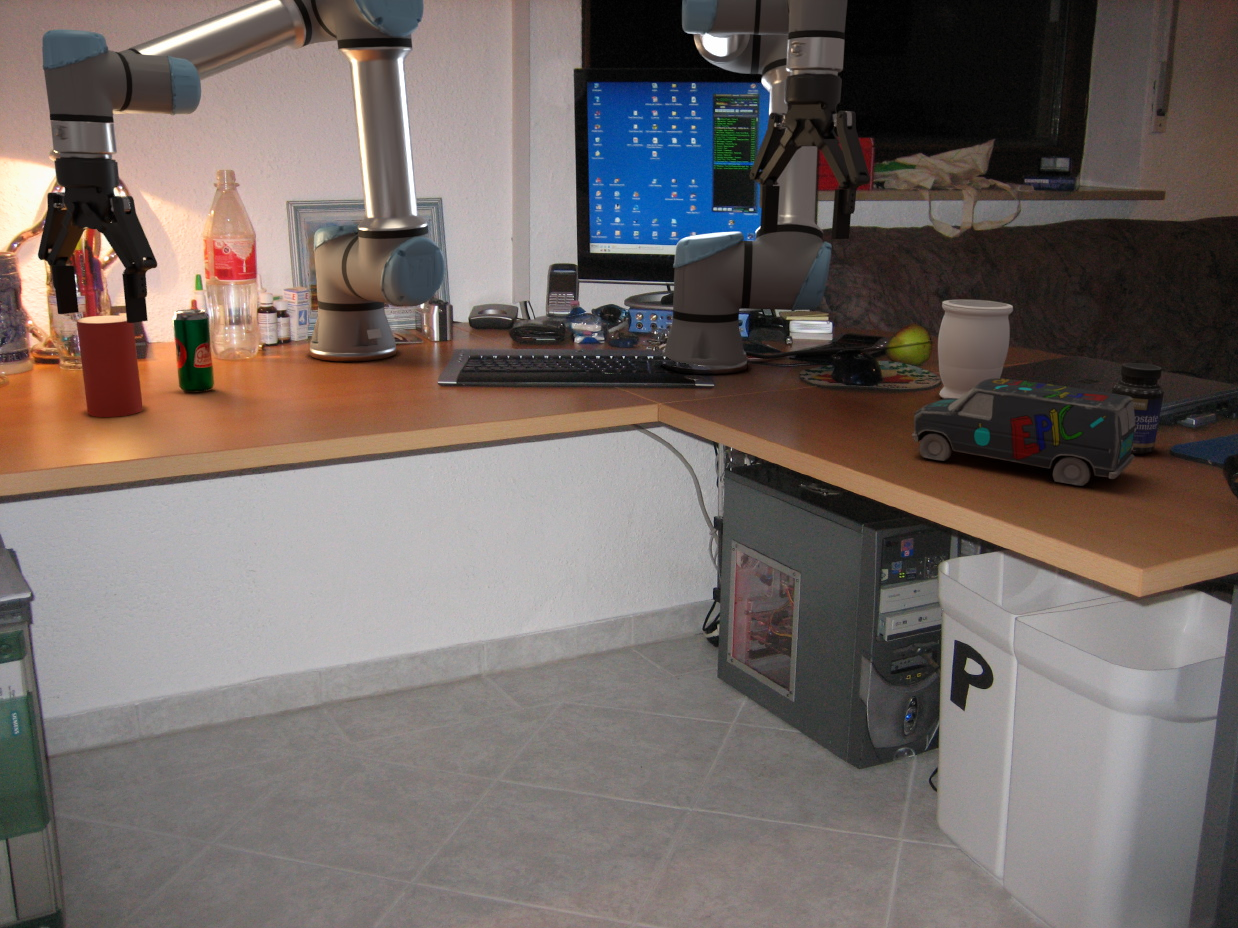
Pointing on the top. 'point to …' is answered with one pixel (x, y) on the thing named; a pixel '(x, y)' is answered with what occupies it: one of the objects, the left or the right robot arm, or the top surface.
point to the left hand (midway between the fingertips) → (102, 317)
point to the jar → (972, 344)
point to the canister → (109, 366)
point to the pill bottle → (1142, 401)
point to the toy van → (1033, 428)
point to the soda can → (193, 350)
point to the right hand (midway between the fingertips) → (803, 235)
